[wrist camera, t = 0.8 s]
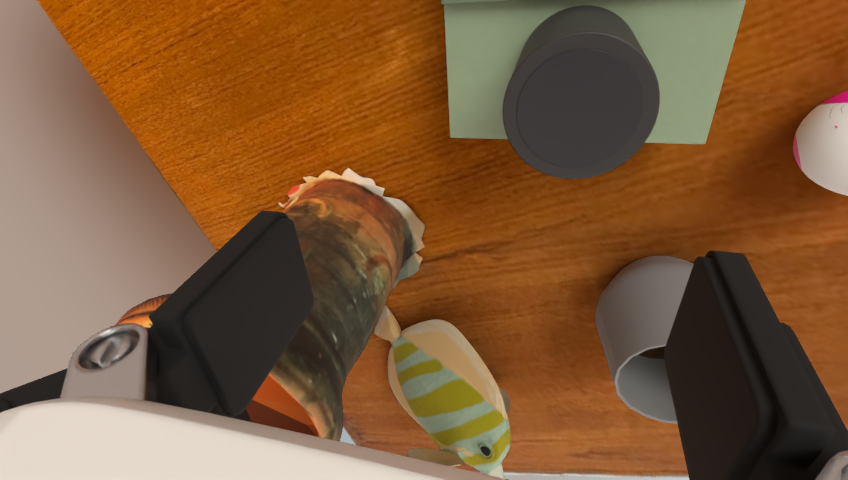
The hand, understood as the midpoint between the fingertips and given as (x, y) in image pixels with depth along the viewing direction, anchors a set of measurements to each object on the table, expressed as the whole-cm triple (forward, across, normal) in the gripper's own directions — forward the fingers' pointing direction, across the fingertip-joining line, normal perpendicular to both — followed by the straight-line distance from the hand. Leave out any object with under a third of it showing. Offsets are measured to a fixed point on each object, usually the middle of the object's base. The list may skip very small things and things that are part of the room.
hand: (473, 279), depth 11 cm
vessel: (+23, +15, +15) cm, 31 cm away
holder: (+18, -2, 0) cm, 18 cm away
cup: (+23, -11, +17) cm, 31 cm away
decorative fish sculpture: (+23, +6, +30) cm, 38 cm away
